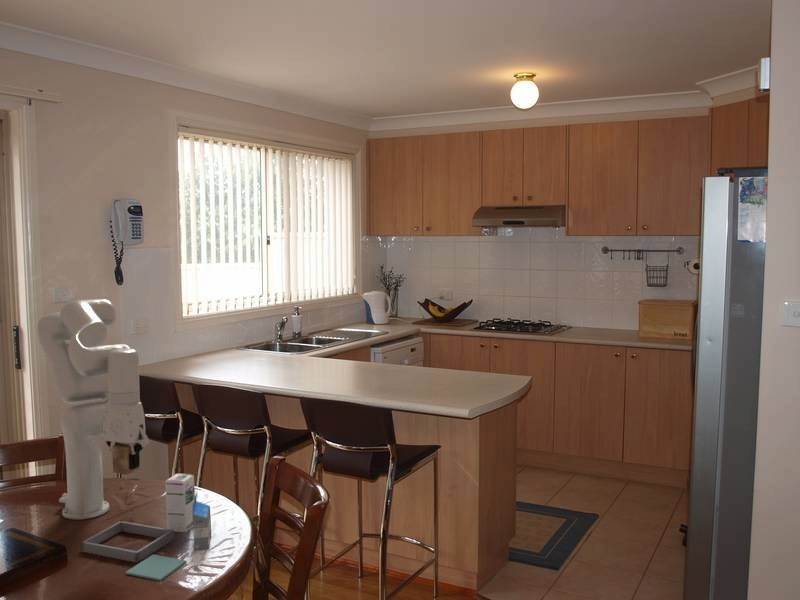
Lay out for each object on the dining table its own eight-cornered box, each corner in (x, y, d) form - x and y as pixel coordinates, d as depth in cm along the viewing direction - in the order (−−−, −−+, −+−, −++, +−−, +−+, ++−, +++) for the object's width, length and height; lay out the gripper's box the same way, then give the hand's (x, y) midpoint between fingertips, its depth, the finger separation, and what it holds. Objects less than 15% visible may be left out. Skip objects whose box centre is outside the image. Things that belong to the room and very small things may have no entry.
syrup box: (186, 533, 195) (185, 481, 194) (166, 531, 196) (164, 479, 195) (196, 524, 201) (195, 474, 199) (176, 522, 202) (175, 472, 201)
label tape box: (209, 549, 185) (208, 503, 184) (192, 550, 185) (191, 504, 183) (211, 535, 194) (210, 491, 193) (196, 536, 193) (195, 492, 192)
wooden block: (113, 472, 184) (112, 445, 183) (125, 467, 188) (124, 440, 188) (127, 474, 183) (126, 447, 182) (139, 469, 187) (138, 442, 186)
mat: (125, 573, 172) (125, 571, 172) (153, 556, 181) (153, 554, 181) (160, 580, 169) (160, 578, 169) (186, 562, 178) (186, 560, 178)
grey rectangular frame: (81, 551, 184) (81, 542, 183) (121, 529, 197) (120, 520, 197) (137, 562, 178) (137, 552, 178) (174, 539, 191) (173, 530, 191)
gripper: (86, 397, 183) (89, 467, 185) (141, 403, 177) (143, 475, 179) (107, 391, 190) (110, 458, 192) (161, 397, 184) (162, 466, 186)
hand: (126, 466), depth 185 cm, fingers closed on wooden block, 4 cm apart
